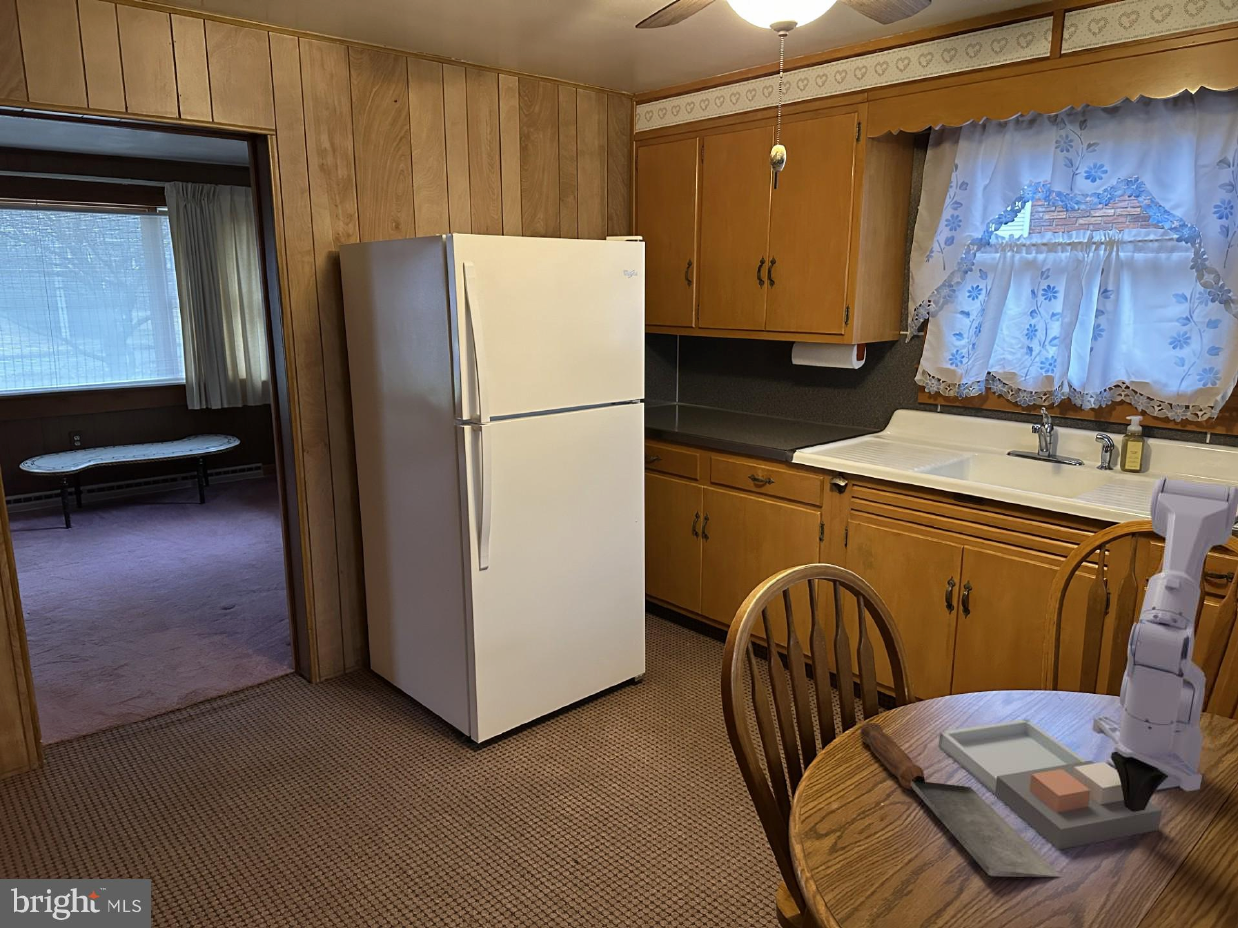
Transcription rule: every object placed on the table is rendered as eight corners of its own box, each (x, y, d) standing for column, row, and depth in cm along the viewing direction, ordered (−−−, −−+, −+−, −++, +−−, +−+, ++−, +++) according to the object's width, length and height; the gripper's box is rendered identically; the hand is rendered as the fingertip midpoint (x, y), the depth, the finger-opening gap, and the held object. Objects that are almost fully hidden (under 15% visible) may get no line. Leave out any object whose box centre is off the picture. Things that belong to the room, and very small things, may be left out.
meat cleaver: (1069, 876, 103) (1073, 848, 102) (987, 889, 101) (990, 860, 100) (919, 735, 135) (921, 713, 135) (854, 742, 133) (856, 719, 132)
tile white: (1101, 777, 118) (1103, 761, 118) (1130, 798, 113) (1133, 782, 113) (1071, 782, 117) (1074, 766, 116) (1100, 804, 112) (1102, 787, 112)
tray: (1024, 732, 135) (1026, 718, 135) (1088, 778, 123) (1090, 763, 123) (938, 746, 131) (939, 731, 131) (994, 794, 119) (996, 779, 119)
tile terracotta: (1059, 784, 116) (1062, 768, 116) (1088, 806, 112) (1090, 789, 111) (1029, 790, 115) (1031, 773, 115) (1056, 812, 110) (1059, 795, 110)
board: (1088, 778, 123) (1090, 760, 122) (1158, 829, 112) (1162, 809, 111) (994, 794, 119) (997, 775, 118) (1058, 849, 108) (1061, 828, 107)
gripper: (1079, 690, 113) (1067, 780, 116) (1175, 747, 99) (1157, 848, 102) (1122, 684, 115) (1108, 773, 118) (1221, 739, 101) (1203, 838, 104)
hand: (1134, 807), depth 110 cm, fingers closed
